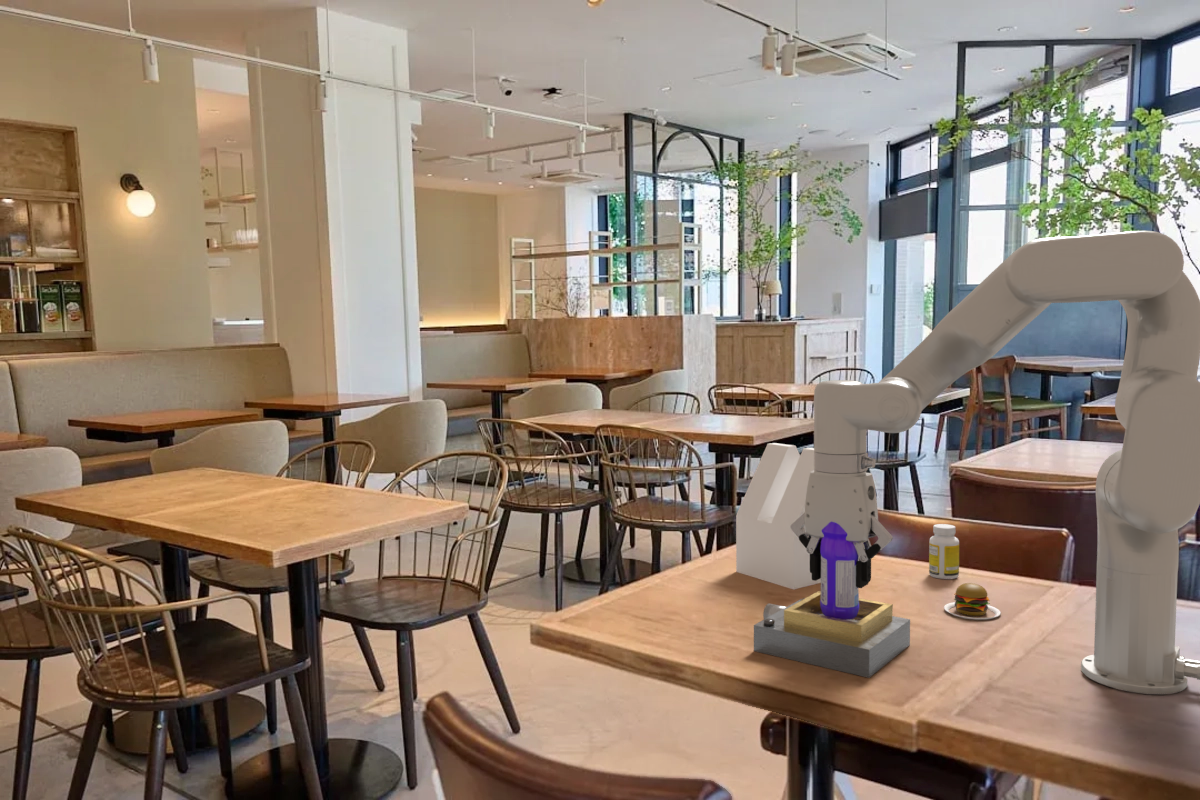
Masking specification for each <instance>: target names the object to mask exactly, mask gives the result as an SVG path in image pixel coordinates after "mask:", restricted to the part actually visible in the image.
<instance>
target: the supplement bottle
mask: <svg viewBox="0 0 1200 800" xmlns="http://www.w3.org/2000/svg"><path fill="white" fill-rule="evenodd" d="M932 527H933V529H932V530H933V531H932V533H933V534H934V535H932V536H931V537H930V538H929V543H928V545H929V547H928V548H929V549H928V550H929V551H928V556H929V557H928V560H929V561H928V572H929V573H928V574H929V575H930V576H931V577H932V578H935V579H941V580H954V579H957V578H959V575H960V540H959V538H958V537H956V536H955V535H956V526H955V525H953V524H947V523H946V524H945V523H938V524H934V525H933V526H932Z"/></svg>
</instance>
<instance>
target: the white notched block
mask: <svg viewBox="0 0 1200 800" xmlns="http://www.w3.org/2000/svg"><path fill="white" fill-rule="evenodd" d="M813 470H814V447H807V448H805V447H804V448H802V450H801V453H800V452H799V450H798V448H797V446H796V445H794V444H785V443H777V442H772V443H767V444H766V447H765V449H764V451H763V453H762V456H761V458H760V460H759V463H758V465H757V467H756V469H755V471H754V474H753V476H752V478H751V481H750V482H749V484H748V487H747V489H746V492H745V495H744V497H743V499H742V501H741V503H740V505H739V507H738V510H737V512H736V516H735V519H736V521H735V522H736V523H735V527H736V528H735V531H736V532H735V534H736V535H735V539H736V540H735V542H736V543H735V545H736V546H735V548H736V549H735V551H736V553H735V555H736V556H735V557H736V561H735V562H736V563H735V565H736V568H735V569H736V573H739V574H743V575H746V576H748V577H752V578H755V579H759V580H762V581H764V582H768V583H771V584H774V585H778V586H781V587H784V588H787V589H791V590H797V589H801V588H805V587H809V586H813V585H816V584H817V585H818V584H821V578H820V579H818V580H816V581H814V580H812V573H810V554H808V553H807V551H806V548H805V546H804V545H803V544H802V543H801V542H800V540H799V537H797V536H796V534H795V533H794V532H793V531H792V529H791V527H790V526H791V524H792V523H794V522H795V521H796V520H797V519H798V518H799V517H800V516H801V515H802V514H804V513H805V500H806V492H807V486H808V481H809V476H810V472H811V471H813ZM804 529H805V525H804ZM858 561H859V557H858Z"/></svg>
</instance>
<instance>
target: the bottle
mask: <svg viewBox="0 0 1200 800" xmlns="http://www.w3.org/2000/svg"><path fill="white" fill-rule="evenodd" d="M822 533H823V535H824V537H823V538H822V539H821V546H820V553H821V583H820V591H821V599H820V606H821V610H822V613H823V614H824V615H825V616H828V617H833V618H838V619H843V620H849V619H854V618H855V617H856V616H857V614H858V611H859V598H860V597H859V594H860V593H859V592H860V591H859V588H857V587H856V562H857V561H858V557H859V556H858V553H857V551H856V548H855V546H854V543H853V542H849V541H847V540H846V537H847V533H846V531H845V530H844V529H843V528H842V527H841V526H840V525H839V524H837V523H835V522H832V521H831V522H830V523H829V524H827V526H825V527H824V528H823V529H822Z"/></svg>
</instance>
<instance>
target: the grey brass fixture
mask: <svg viewBox="0 0 1200 800" xmlns="http://www.w3.org/2000/svg"><path fill="white" fill-rule="evenodd" d="M820 599H821V590H818V591H816V592H814V593H813V594H811V595H809V596H807V597H803V598H801V599H799V600H797V601H795V602H793V603H791V604H789V605H788V606H784V605H780V604H779V605H778V604H774V603H767V604H766V605H765V606H764V608H763V613H762V614H763V615H762V616H763V619H762V620H760V621H759V622H757V623H754V625H753V651H754V652H757V653H761V654H765V655H770V656H774V657H778V658H783V659H787V660H791V661H794V662H795V661H796V662H800V663H803V664H808V665H812V666H817V667H820V668H821V667H822V668H825V669H829V670H834V671H839V672H843V673H847V674H851V675H854V676H855V675H856V676H860V677H864V678H871V677H872V676H873V675H874V674H876V673H877V672H878V671H879V670H881V669H882V668H883V667H885V665H887V664H888V663H889V662H891V661H892V660H893V659H895V657H897V656H898V655H899V654H901V653H902V652H903V651H904V650H906V649H907V648H908V647H910V645H911V619H910V618H905V617H900V616H899V617H898V616H895V615H893V610H894V608H893V604H892V603H888V602H881V601H876V600H871V599H865V598H860V597H859V611H858V614H857V616H856V617H855V618H854V619H849V620H843V619H838V618H833V617H828V616H825V615H824V614H823V613H822V610H821V606H820Z"/></svg>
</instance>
